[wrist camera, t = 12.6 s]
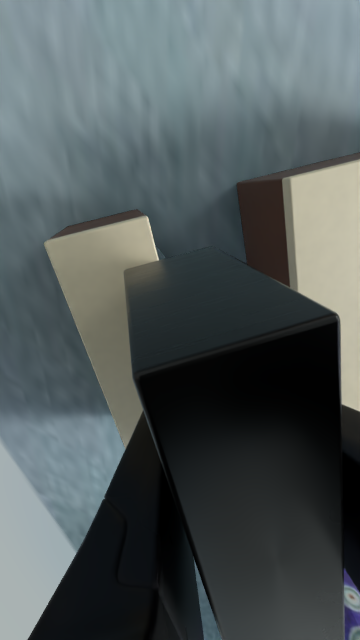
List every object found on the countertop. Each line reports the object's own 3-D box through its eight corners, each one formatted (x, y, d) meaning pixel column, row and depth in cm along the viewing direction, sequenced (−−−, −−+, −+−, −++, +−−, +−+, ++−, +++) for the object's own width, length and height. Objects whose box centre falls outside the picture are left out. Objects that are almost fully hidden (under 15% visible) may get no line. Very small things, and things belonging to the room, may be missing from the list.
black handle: (178, 226, 13) (343, 312, 3) (213, 386, 16) (346, 652, 7) (120, 241, 12) (130, 375, 3) (167, 400, 16) (240, 694, 6)
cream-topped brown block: (138, 208, 13) (147, 216, 9) (187, 398, 17) (210, 463, 13) (66, 226, 13) (42, 242, 9) (134, 415, 17) (140, 486, 13)
